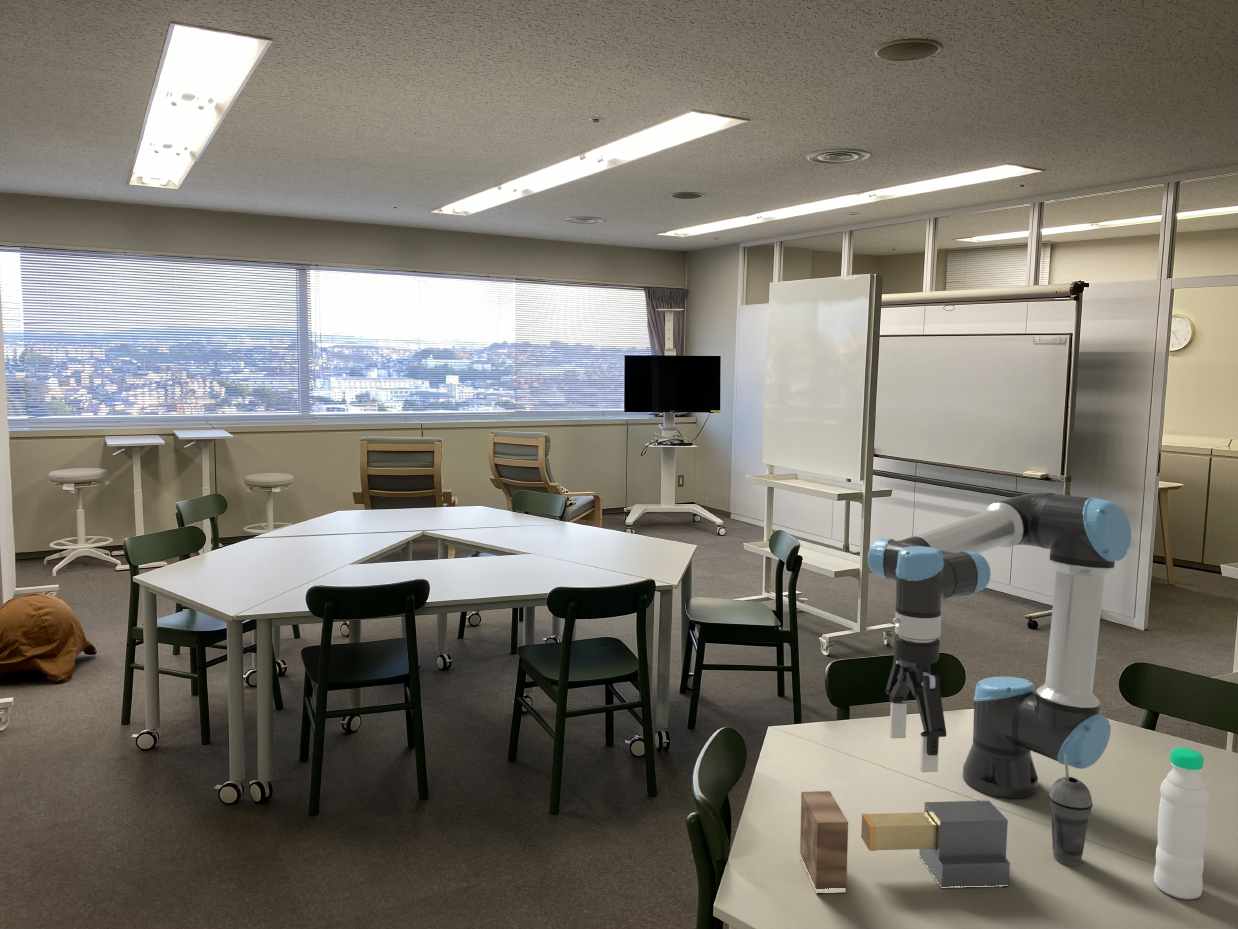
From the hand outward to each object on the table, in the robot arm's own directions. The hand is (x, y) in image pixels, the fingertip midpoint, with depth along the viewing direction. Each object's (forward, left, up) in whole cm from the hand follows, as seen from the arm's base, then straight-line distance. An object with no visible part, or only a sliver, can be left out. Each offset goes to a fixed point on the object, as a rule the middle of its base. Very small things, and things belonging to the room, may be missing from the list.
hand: (912, 753), depth 153 cm
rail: (-1, +3, -17) cm, 17 cm away
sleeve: (-1, +10, -23) cm, 25 cm away
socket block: (-1, -15, -23) cm, 27 cm away
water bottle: (+6, +45, -23) cm, 51 cm away
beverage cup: (-4, +31, -23) cm, 39 cm away
